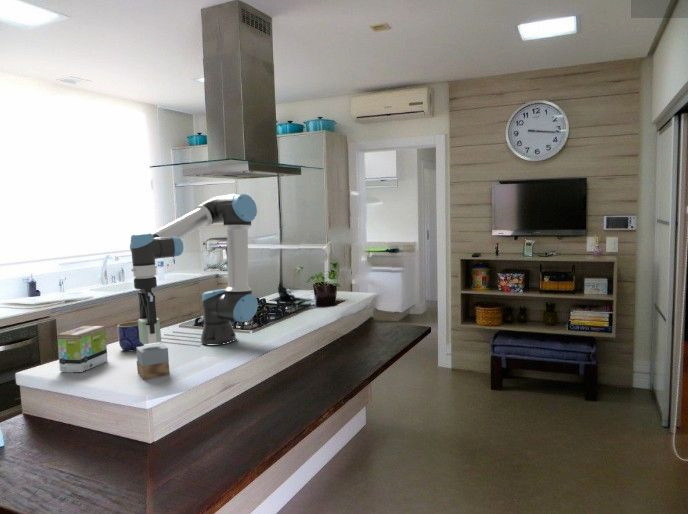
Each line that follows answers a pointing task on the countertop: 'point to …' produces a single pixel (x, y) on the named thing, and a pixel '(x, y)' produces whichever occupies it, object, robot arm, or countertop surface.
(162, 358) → the tower top
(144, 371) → the tower base
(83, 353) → the tea box
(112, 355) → the countertop surface
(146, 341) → the green block
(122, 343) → the planter
